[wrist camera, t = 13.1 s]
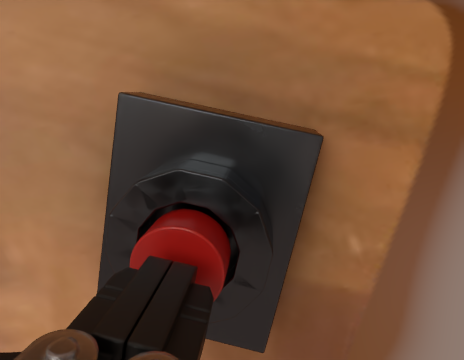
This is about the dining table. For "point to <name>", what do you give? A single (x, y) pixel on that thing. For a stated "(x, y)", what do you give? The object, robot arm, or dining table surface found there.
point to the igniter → (212, 197)
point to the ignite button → (188, 245)
